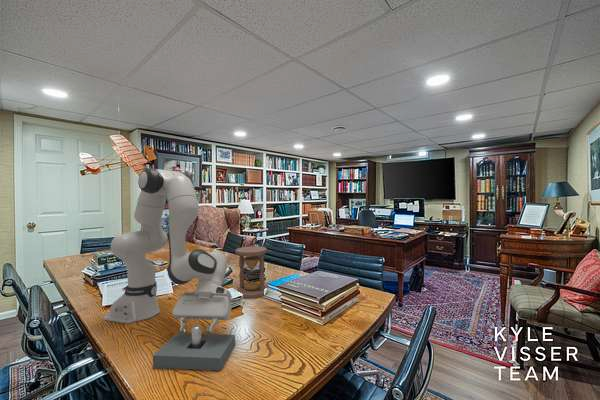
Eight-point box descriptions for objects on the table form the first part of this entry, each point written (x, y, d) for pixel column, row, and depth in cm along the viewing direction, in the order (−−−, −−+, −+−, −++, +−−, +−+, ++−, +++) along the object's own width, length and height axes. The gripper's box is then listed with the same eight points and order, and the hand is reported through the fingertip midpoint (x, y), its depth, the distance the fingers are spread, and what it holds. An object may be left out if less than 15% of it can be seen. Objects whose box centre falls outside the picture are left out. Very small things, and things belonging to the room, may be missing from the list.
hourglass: (273, 291, 152) (273, 247, 151) (252, 301, 137) (252, 253, 137) (251, 285, 161) (250, 245, 161) (229, 294, 146) (228, 250, 146)
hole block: (153, 368, 83) (152, 355, 83) (177, 343, 97) (177, 332, 97) (220, 370, 82) (220, 358, 82) (235, 345, 96) (235, 334, 96)
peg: (190, 358, 88) (189, 328, 88) (194, 353, 91) (194, 324, 91) (198, 358, 88) (198, 329, 88) (202, 353, 91) (202, 324, 91)
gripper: (177, 288, 97) (162, 327, 88) (231, 289, 96) (222, 329, 86) (184, 296, 102) (170, 334, 92) (235, 297, 100) (227, 336, 90)
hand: (195, 332), depth 89 cm, fingers open, 8 cm apart
